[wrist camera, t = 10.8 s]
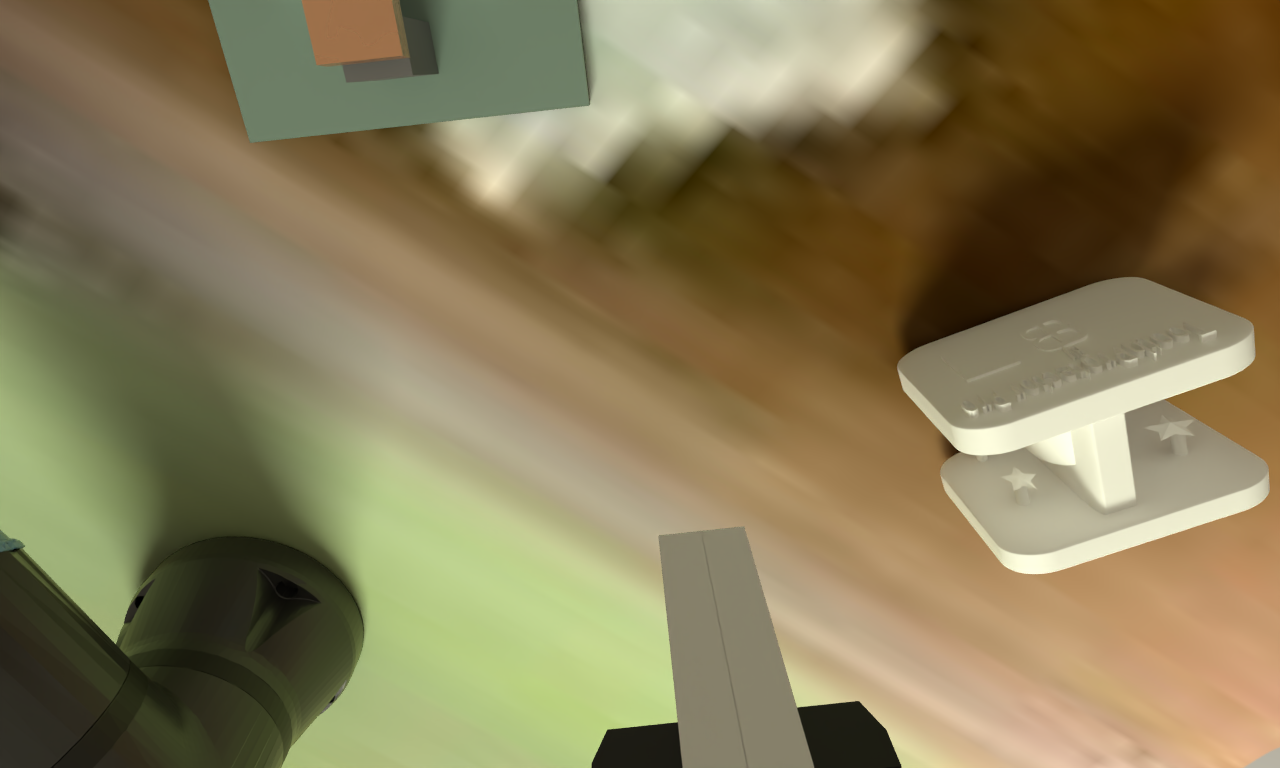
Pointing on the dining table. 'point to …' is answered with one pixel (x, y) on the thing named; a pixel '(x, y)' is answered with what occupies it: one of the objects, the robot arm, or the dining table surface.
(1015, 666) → the dining table surface
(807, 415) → the dining table surface
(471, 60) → the heatsink board
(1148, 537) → the cable organizer
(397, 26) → the orange-tipped flat strip
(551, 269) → the dining table surface
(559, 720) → the dining table surface
